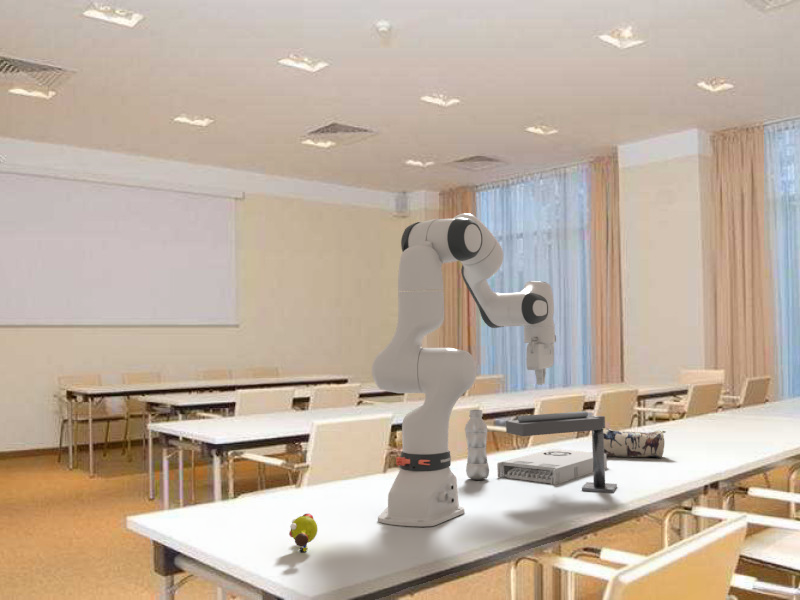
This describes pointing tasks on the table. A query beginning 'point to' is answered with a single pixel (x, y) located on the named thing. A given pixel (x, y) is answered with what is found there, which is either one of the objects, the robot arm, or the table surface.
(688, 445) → the table surface
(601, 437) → the post
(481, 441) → the plastic bottle
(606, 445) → the pencil case
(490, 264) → the robot arm
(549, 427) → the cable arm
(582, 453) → the power supply unit
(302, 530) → the toy figure
